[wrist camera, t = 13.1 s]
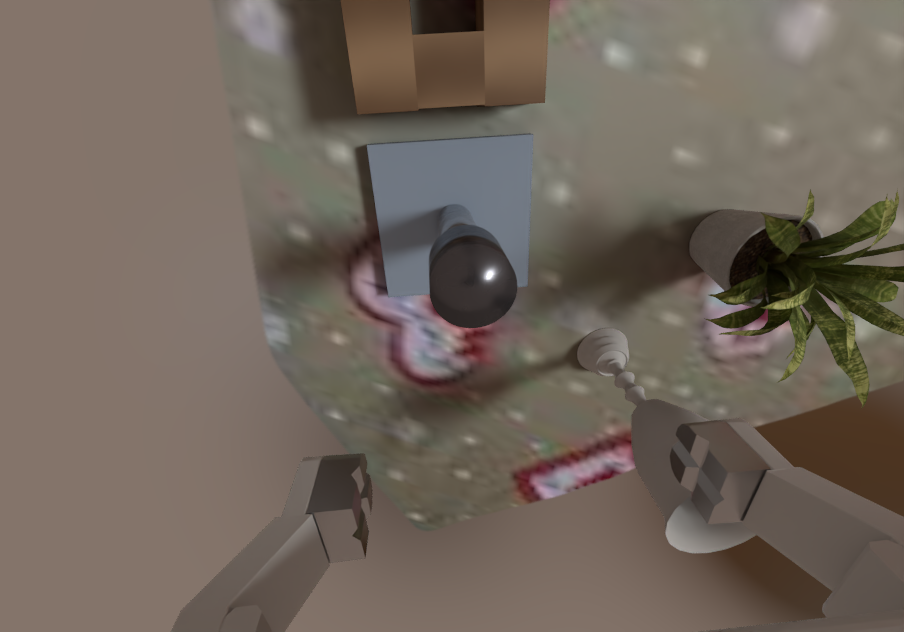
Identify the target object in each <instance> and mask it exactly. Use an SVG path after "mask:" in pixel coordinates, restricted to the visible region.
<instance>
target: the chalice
mask: <svg viewBox="0 0 904 632" xmlns="http://www.w3.org/2000/svg"><path fill="white" fill-rule="evenodd" d="M577 359H578V361H579V363H580V365H581V366H583V367H584V368H585V369H587V370H590V371H591V372H594V373H596V374H597V375H600V376H613V375H615V378H616V379H615V386H616V387H618V388H623V389H624V390H625V392H626V394H625V398H626V400H628V401H631V402H633V403H634V404H635V405H636V406H637V407H636V409H635V410H634V411H633V414H632V449H633V455H634V461H635V467H636V469H637V471H638V474H639V475H640V477H641V479H642V481H643V482H644V484H645V486H646V487H647V489H648V490H649V492H650V494H651V496H652V498H653V499H654V501H655V503H656V504H657V506H658V508H659V509H660V511H661V513H662V514H663V516H664V518H665V533H666V536H667V539H668V541H669V543H670V544H671V545H672V546H674V547H675V548H677V549H678V550H681V551H685V552H690V553H710V552H714V551H719V550H723V549H727V548H730V547H733V546H735V545H738V544H740V543H743V542H745V541H747V540H748V539H750V538H752V537H754V536H756V535H757V534H755V533H754V532H753V531H751V530H750V529H748V528H747V527H746V526H744V525H743V524H742V522H732V523H718V524H707V523H706V521H705V520H704V518H703V517H702V516H701V514H700V513H699V511H698V510H697V508H696V507H695V505H694V504H693V502H692V501H691V491H690V490H688V489H687V488H685V487H683V486H682V485H680V483H679V482H678V480H677V479H676V477H675V475H674V473H673V471H672V468H671V463H670V453H671V449H672V447H673V446H674V445H675V444H676V443H677V442H678V441H679V439H678V438H677V436H676V432H677V428H678V427H679V426H680V425H681V424H684V423H694V422H704V421H709V420H707V419H705V418H703V417H701V416H699V415H697V414H696V413H694V412H692V411H689V410H687V409H684V408H681V407H678V406H676V405H673V404H670V403H667V402H665V401H662V400H659V399H651V400H646V398H645V396H644V389H643V388H642V387H641V386H637V385H635V384H634V382H633V381H634V374H633V373H631V372H626V371H624V368H625V367H626V365H627V363H628V360H629V353H628V341H627V339H626V336H625V335H624V334H623V333H622V332H621V331H619V330H616V329H614V328H604V329H599V330H596V331H594V332H592V333H590V334H589V335H588V336H587V337H585V338H584V339H583V341H582V342H581V344H580V345H579V348H578V351H577Z"/></svg>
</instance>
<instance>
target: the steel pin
mask: <svg viewBox="0 0 904 632" xmlns="http://www.w3.org/2000/svg"><path fill="white" fill-rule="evenodd" d="M437 225H438V233H439V237H438V238H437V240H436V241H435V242H434V244H433V246H432V248H431V250H430V254H429V288H430V298H431V301H432V304H433V306H434V308H435V310H436V311H437V313H438V314H439V315H440V316H441V317H442V318H443V319H445V320H446V321H448V322H449V323H451V324H453V325H456V326H459V327H464V328H478V327H483V326H486V325H489V324H491V323H493V322H495V321H497V320H498V319H500V318H501V317H502V316H503V315H505V314H506V312H507V311H508V310H509V309H510V307H511V306H512V304H513V302H514V300H515V297H516V293H517V278H516V274H515V271H514V269H513V267H512V265H511V264H510V262H509V260H508V258H507V256H506V255H505V253H504V251H503V249H502V247H501V246H500V244H499V242H498V240H497V239H496V238H495V237H494V236H493V235H492V234H491V233H490V232H489V231H487V230H486V229H484V228H481V227H479V226H476V224H475V222H474V220H473V217H472V215H471V213H470V211H469V210H468V209H467V208H466V207H464V206H462V205H459V204H452V205H448V206H446V207H445V208H444V209H443V210H442V211H441V212H440V213H439V216H438V219H437Z"/></svg>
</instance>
